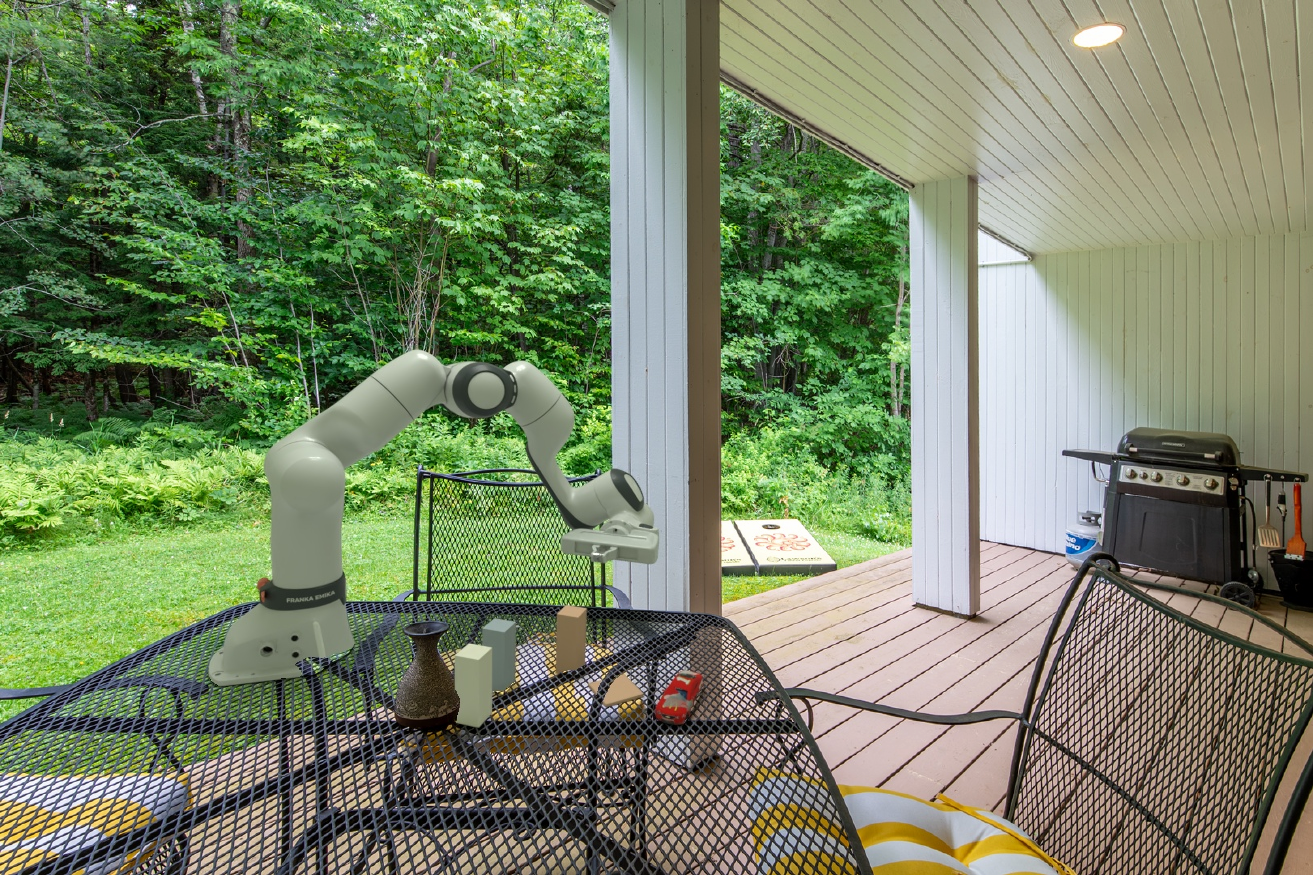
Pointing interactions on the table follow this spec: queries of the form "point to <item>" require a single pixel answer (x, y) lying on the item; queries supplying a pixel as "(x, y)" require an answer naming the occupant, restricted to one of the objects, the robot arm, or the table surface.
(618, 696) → the tile
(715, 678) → the table surface
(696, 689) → the race car
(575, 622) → the tan rectangular block
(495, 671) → the slate post
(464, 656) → the cream post
